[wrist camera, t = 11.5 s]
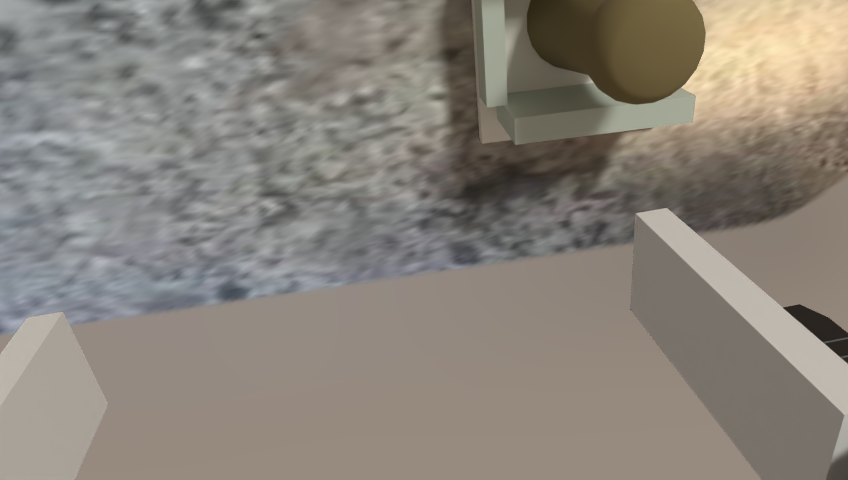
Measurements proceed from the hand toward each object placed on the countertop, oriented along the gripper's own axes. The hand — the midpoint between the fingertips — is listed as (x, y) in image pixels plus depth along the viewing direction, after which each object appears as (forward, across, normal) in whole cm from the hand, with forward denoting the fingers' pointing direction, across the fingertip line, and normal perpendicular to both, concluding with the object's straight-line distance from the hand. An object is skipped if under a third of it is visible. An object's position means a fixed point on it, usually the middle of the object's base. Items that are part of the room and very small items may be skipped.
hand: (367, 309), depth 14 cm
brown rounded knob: (+24, +14, +1) cm, 28 cm away
